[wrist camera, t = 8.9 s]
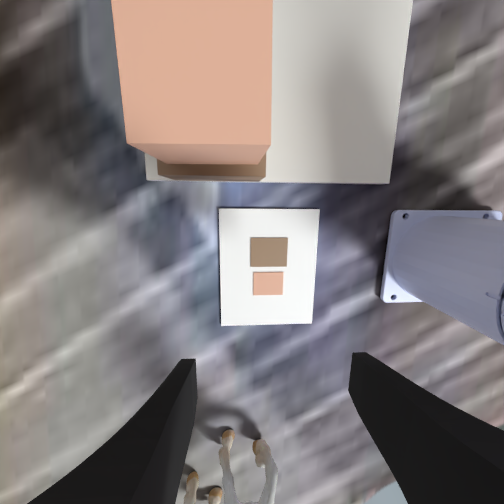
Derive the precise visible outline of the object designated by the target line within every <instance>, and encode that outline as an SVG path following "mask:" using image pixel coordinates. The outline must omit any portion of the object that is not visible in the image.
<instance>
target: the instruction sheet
mask: <svg viewBox="0 0 504 504" xmlns="http://www.w3.org/2000/svg"><path fill="white" fill-rule="evenodd" d="M319 213H320V209H219V236H220V285H221V326H234V325H269V324H305V323H312V313H313V299H314V284H315V270H316V256H317V242H318V227H319Z"/></svg>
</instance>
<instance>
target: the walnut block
mask: <svg viewBox="0 0 504 504" xmlns="http://www.w3.org/2000/svg"><path fill="white" fill-rule="evenodd" d="M157 170H158V175H160V176H163V177H166V178H169V179H173V180H183V181H250V182H259V181H260V180H262V179H263V178H265V177H266V153H265V155H264V156H263V158H262V159H261V161H260V162H259V164H258V165H255V164H166V163H164V162H162V161H160V160H158V159H157Z"/></svg>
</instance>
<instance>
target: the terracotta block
mask: <svg viewBox="0 0 504 504" xmlns="http://www.w3.org/2000/svg"><path fill="white" fill-rule="evenodd" d="M111 4H112V13H113V22H114V31H115V40H116V49H117V59H118V68H119V77H120V86H121V95H122V104H123V113H124V122H125V131H126V140H127V144H129V145H131V146H133V147H135V148H137V149H139V150H141V151H143V152H145V153H147V154H149V155H151V156H153V157H155V158H156V159H158V160H160V161H162V162H164V163H166V164H255V165H258V164H259V162H260V161H261V159H262V158H263V156H264V155H265V153H266V152H267V150H268V149H269V147H270V146H271V104H272V24H273V0H111Z"/></svg>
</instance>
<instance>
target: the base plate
mask: <svg viewBox="0 0 504 504" xmlns="http://www.w3.org/2000/svg"><path fill="white" fill-rule="evenodd" d="M412 4H413V0H273V24H272V104H271V146H270V147H269V149H268V150H267V152H266V177H265V178H263V179H262V180H260V181H259V182H254V183H323V184H389V182H390V174H391V166H392V159H393V151H394V143H395V135H396V128H397V120H398V112H399V104H400V97H401V89H402V81H403V73H404V66H405V58H406V50H407V42H408V35H409V27H410V19H411V12H412ZM144 154H145V166H146V178H147V180H149V181H183V180H173V179H169V178H166V177H163V176H160V175H158V170H157V159H156V158H155V157H153V156H151V155H149V154H147V153H145V152H144ZM186 182H250V181H186Z"/></svg>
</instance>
